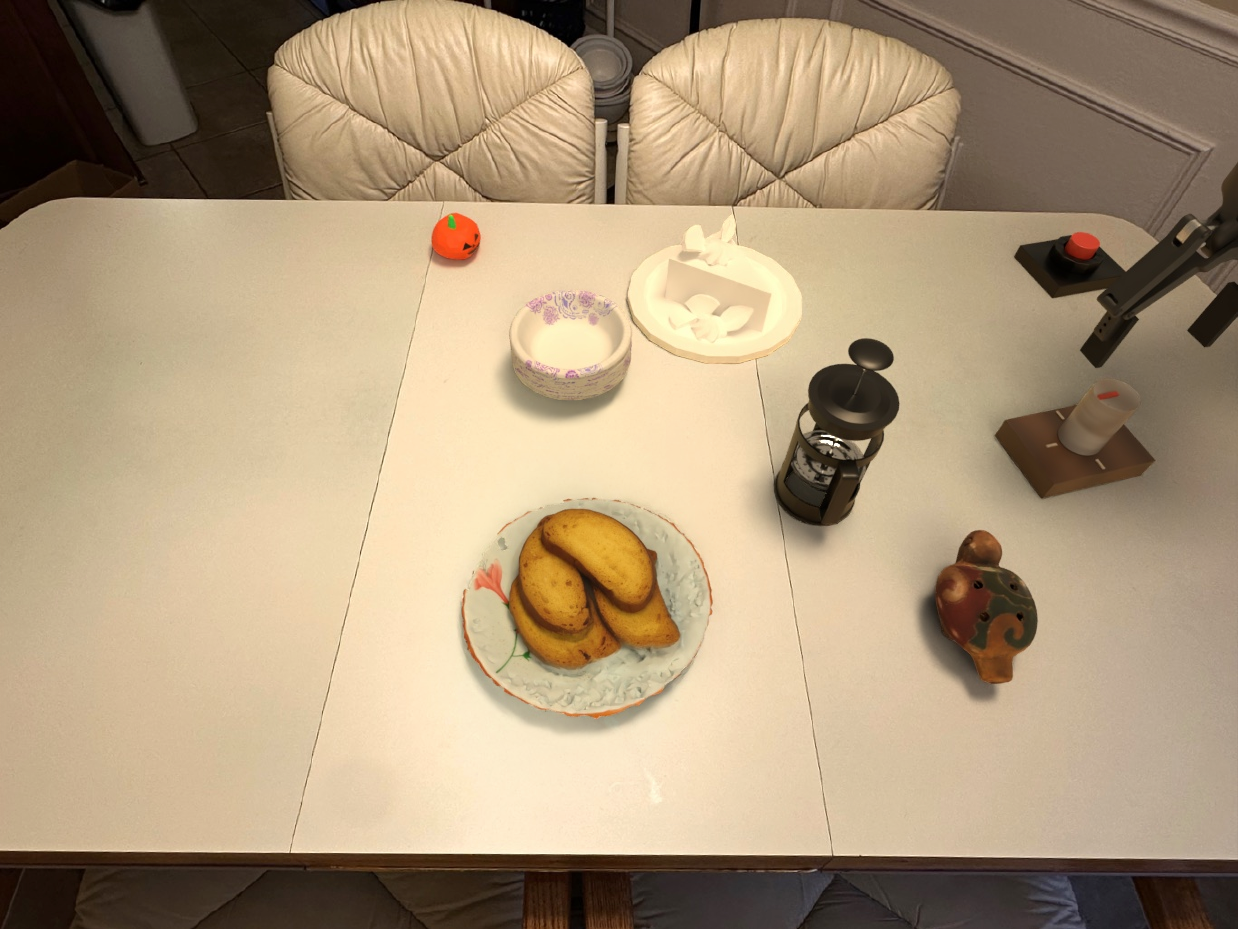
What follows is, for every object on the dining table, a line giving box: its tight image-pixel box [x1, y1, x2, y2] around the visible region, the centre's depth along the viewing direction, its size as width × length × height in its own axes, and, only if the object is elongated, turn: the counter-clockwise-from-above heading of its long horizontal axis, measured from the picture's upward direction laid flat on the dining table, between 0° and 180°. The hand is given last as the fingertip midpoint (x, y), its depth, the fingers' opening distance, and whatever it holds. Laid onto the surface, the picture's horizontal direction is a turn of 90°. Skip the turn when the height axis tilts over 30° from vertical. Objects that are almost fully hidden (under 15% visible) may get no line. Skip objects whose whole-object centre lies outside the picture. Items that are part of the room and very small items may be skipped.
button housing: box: [1013, 234, 1127, 299], centre depth 112 cm, size 12×10×4 cm
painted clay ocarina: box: [934, 529, 1039, 685], centre depth 75 cm, size 10×15×8 cm, turn 1°
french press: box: [773, 337, 901, 527], centre depth 78 cm, size 12×9×23 cm
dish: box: [627, 213, 803, 364], centre depth 102 cm, size 25×25×11 cm
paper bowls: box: [508, 289, 633, 401], centre depth 95 cm, size 15×15×8 cm
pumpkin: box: [430, 212, 482, 260], centre depth 110 cm, size 7×8×6 cm
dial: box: [1058, 377, 1141, 456], centre depth 86 cm, size 5×5×8 cm
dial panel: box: [994, 403, 1156, 499], centre depth 90 cm, size 14×10×3 cm
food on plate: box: [461, 497, 714, 720], centre depth 75 cm, size 25×25×7 cm
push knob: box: [1065, 231, 1101, 260], centre depth 110 cm, size 4×4×2 cm
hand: (1145, 348), depth 78 cm, fingers open, 13 cm apart
